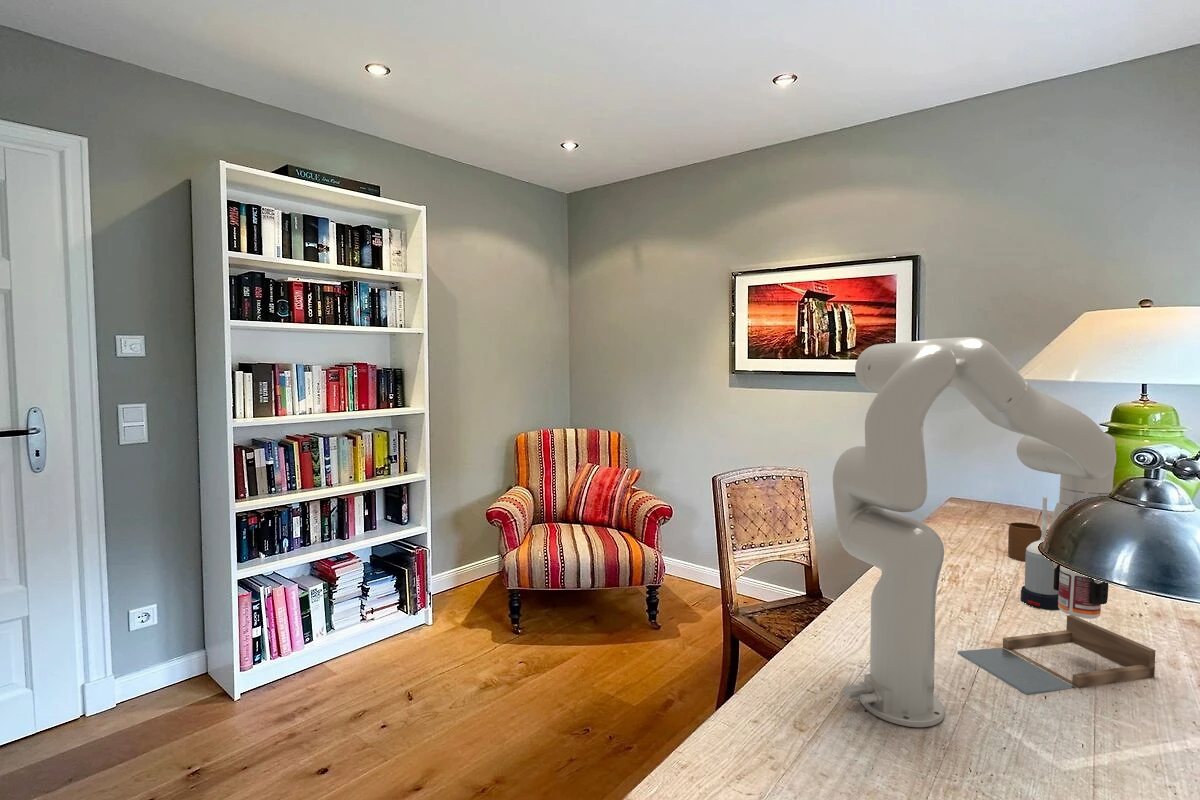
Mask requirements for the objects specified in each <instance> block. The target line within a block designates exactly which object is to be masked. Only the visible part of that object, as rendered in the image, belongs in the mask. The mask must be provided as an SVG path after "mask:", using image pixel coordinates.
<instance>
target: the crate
mask: <svg viewBox="0 0 1200 800" xmlns="http://www.w3.org/2000/svg"><path fill="white" fill-rule="evenodd" d="M1066 643H1067V644H1068V643H1074V644H1075V645H1078V646H1080V647H1082V648H1084V649H1086V650H1088V651H1090V652H1093V653H1095V654H1097V655H1099V656H1101V657H1103V658H1105V659H1107V660H1109V661H1111V662H1114V663H1116V664H1118V665H1120V667H1115V668H1106V669H1101V670H1095V671H1093V670H1092V671H1088V672H1078V673H1073V674H1072V676H1071V677H1072V679H1071V680H1070V679H1069V678H1067V677H1065V676H1063V675H1062V674H1059V673H1057V672H1056V671H1054V670H1052V669H1051V668H1049V667H1047V666H1045V665H1043V664H1040V663H1039V662H1037V661H1035V660H1033V658H1032V659H1031V658H1030V657H1028V656H1026V655H1024V654H1022V653H1020V652H1019V651H1017V650H1019V649H1027V648H1034V647H1035V648H1036V647H1043V646H1050V645H1058V644H1066ZM1002 648H1004V649H1006V650H1008V651H1010V652H1011V653H1013V654H1015V655H1017V656H1019V657H1021V658H1022V659H1024V660H1026V661H1028V662H1030V663H1032V664H1033V665H1035V666H1037V667H1039V668H1041V669H1043V670H1045V671H1046V672H1048V673H1050V674H1052V675H1054V676H1056V677H1057V678H1059V679H1061V680H1063V681H1065V682H1067V683H1068V684H1070V685H1072V686H1074V687H1076V688H1077V689H1082V688H1091V687H1097V686H1104V685H1105V686H1106V685H1110V684H1118V683H1124V682H1132V681H1133V682H1134V681H1137V680H1145V679H1152V678H1155V674H1156V673H1155V672H1156V671H1155V669H1156V652H1157V650H1155V649H1153V648H1151V647H1149V646H1147V645H1144V644H1142V643H1139V642H1137V641H1134V640H1132V639H1130V638H1127V637H1125V636H1123V635H1120V634H1118V633H1117V632H1113V631H1111V630H1110V629H1109V630H1108V629H1107V628H1104V627H1102V626H1099V625H1096V624H1094V623H1092V622H1090V621H1088V620H1085V619H1084V618H1081V617H1077V616H1073V615H1069V614H1067V615H1066V630H1057V631H1050V632H1048V631H1047V632H1041V633H1040V632H1039V633H1035V634H1034V633H1033V634H1032V633H1031V634H1023V635H1015V636H1009V637H1003V638H1002ZM1121 666H1122V667H1121Z"/></svg>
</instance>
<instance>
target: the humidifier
mask: <svg viewBox="0 0 1200 800" xmlns="http://www.w3.org/2000/svg"><path fill="white" fill-rule="evenodd" d="M1047 503H1048V497H1047V496H1042V512H1041V513H1042V514H1041V531H1042V536H1041V539H1040V540H1039V541H1036V542H1033V543H1031V544H1030V545H1029V546H1028V547H1027V548H1026V559H1025V561H1024V562H1025V565H1024V567H1025V568H1024V585H1023V586H1022V587H1021V589H1020V601H1021V602H1022V603H1023V602H1024V603H1023V604H1025V603H1026V604H1025V605H1027V606H1029V605H1030V606H1029V607H1032V606H1033V607H1032V608H1035V607H1036V608H1035V609H1039V610H1047V611H1059V610H1060V609H1059V607H1058V596H1059V591H1057V590H1054V588H1053V586H1054V569H1055V568H1052V566H1051V561H1050V560H1048V559H1047V558H1045V557H1044V556H1043V555H1042V554H1041V553H1040V552H1039V551H1038V546H1039V544H1040V543H1041V542H1042V541H1043V540H1044V538H1045V536H1046V530H1047V529H1048V528H1047V526H1048V525H1047V520H1048V516H1047V515H1048V513H1047V512H1048V506H1047V505H1048V504H1047ZM1046 537H1047V536H1046ZM1060 611H1061V610H1060Z"/></svg>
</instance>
